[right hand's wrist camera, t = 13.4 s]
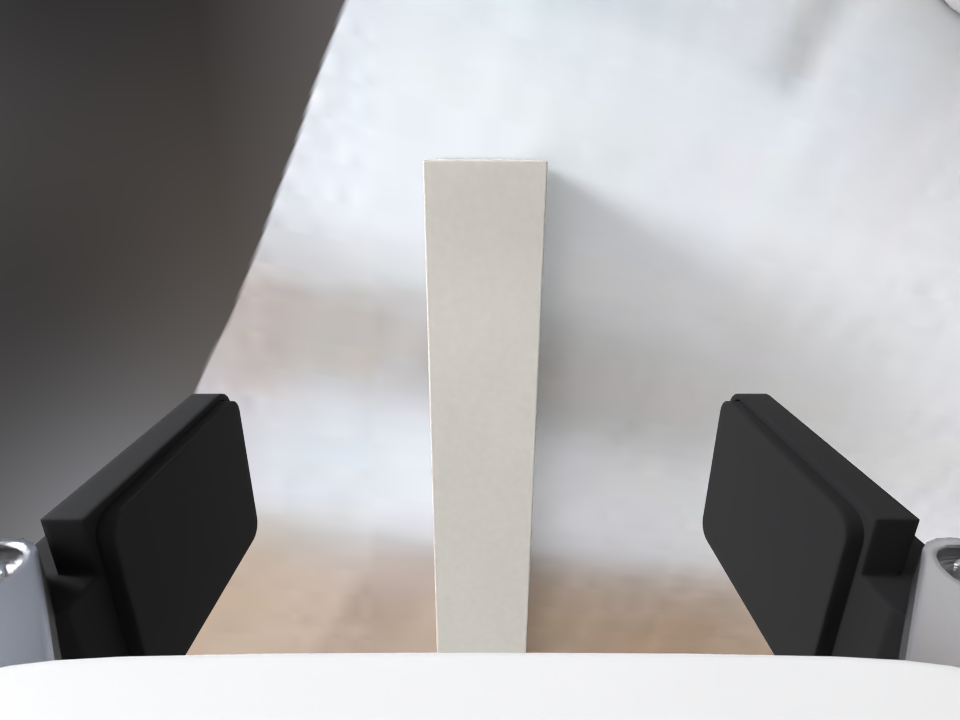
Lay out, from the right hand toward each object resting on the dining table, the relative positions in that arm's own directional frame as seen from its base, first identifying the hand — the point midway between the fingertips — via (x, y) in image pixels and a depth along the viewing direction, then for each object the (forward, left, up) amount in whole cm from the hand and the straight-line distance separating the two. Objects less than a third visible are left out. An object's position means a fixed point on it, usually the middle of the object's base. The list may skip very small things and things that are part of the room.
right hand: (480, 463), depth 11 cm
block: (+22, +10, -24) cm, 34 cm away
